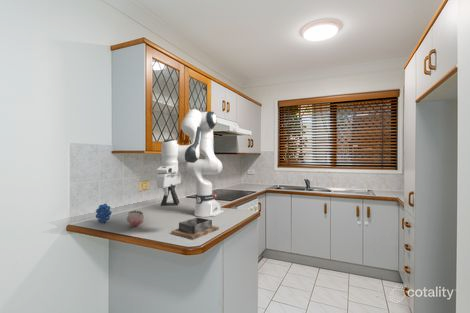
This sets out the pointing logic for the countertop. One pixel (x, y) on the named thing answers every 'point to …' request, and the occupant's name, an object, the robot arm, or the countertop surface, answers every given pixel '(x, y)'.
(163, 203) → the phone stand
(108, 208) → the grapes
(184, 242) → the countertop surface
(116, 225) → the countertop surface
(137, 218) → the decorative fruit
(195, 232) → the socket board
